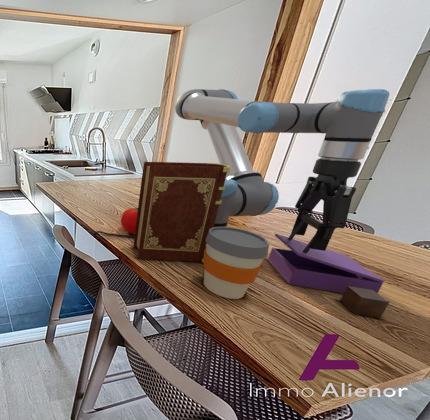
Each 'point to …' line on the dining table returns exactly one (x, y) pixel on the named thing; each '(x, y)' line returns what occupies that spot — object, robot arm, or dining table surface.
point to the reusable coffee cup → (232, 260)
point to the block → (364, 301)
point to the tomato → (129, 220)
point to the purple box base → (316, 273)
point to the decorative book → (177, 209)
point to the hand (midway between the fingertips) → (306, 241)
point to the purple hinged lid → (323, 252)
